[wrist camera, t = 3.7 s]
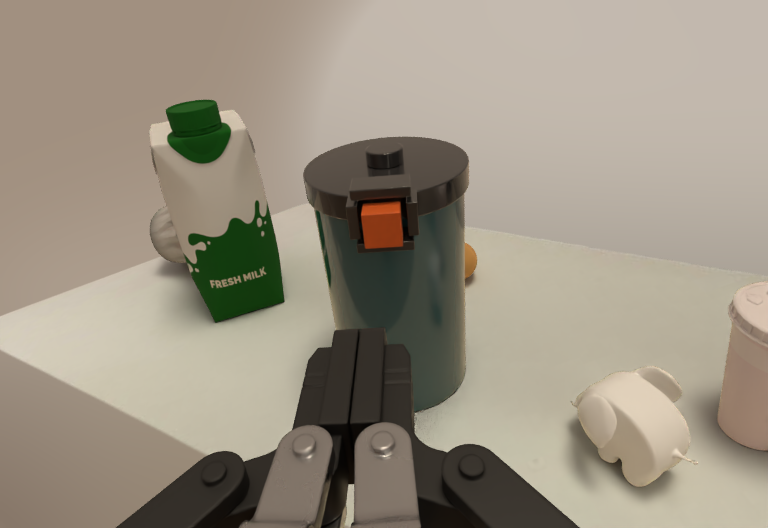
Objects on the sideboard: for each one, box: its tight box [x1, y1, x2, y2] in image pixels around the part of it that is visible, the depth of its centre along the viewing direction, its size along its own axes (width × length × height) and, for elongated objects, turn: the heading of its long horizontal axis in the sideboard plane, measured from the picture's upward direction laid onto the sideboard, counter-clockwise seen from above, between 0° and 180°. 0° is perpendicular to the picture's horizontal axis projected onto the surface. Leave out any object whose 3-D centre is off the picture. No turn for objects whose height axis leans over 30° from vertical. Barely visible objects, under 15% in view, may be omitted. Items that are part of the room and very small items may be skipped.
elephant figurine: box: [571, 366, 698, 487], centre depth 31 cm, size 7×8×6 cm
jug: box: [303, 137, 469, 412], centre depth 37 cm, size 15×11×19 cm
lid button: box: [361, 201, 403, 249], centre depth 26 cm, size 1×2×2 cm
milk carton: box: [149, 100, 284, 322], centre depth 47 cm, size 9×9×20 cm
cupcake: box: [150, 206, 186, 263], centre depth 57 cm, size 9×9×10 cm
